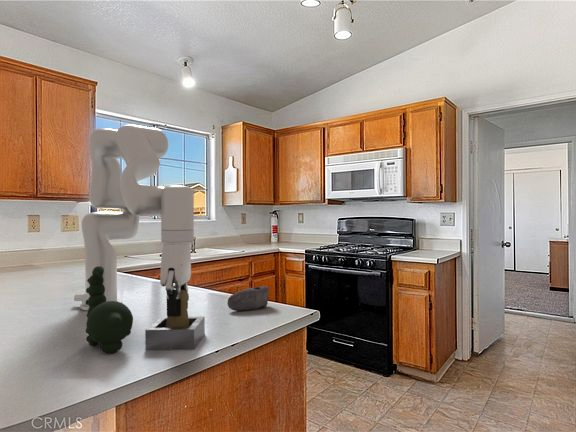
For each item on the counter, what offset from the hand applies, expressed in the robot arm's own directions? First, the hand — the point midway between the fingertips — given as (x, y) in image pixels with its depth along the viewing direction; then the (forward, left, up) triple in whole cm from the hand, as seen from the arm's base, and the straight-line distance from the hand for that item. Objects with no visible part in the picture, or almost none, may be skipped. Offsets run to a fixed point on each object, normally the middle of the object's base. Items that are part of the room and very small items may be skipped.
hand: (177, 311), depth 92 cm
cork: (0, 0, -6) cm, 6 cm away
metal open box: (0, 0, -7) cm, 7 cm away
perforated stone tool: (+14, +31, -7) cm, 35 cm away
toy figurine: (-16, -2, -7) cm, 18 cm away
